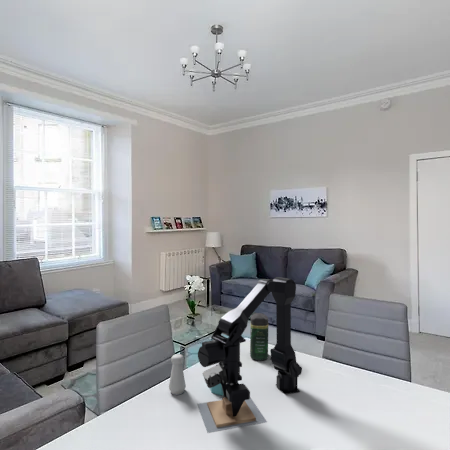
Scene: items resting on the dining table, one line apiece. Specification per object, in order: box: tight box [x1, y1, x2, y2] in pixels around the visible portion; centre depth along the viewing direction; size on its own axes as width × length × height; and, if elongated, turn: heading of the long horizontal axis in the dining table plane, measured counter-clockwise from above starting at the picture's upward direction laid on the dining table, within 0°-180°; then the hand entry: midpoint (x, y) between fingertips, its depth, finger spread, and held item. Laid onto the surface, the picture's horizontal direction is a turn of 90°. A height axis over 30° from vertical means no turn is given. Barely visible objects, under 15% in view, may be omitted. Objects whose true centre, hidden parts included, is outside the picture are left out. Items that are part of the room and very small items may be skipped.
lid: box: [206, 396, 256, 427], centre depth 101 cm, size 12×12×4 cm
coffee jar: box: [249, 312, 269, 361], centre depth 144 cm, size 10×8×19 cm
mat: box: [196, 396, 268, 434], centre depth 101 cm, size 18×15×1 cm
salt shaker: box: [168, 353, 187, 396], centre depth 113 cm, size 6×6×13 cm
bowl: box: [209, 384, 224, 397], centre depth 116 cm, size 10×10×5 cm
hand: (230, 408), depth 101 cm, fingers open, 8 cm apart
